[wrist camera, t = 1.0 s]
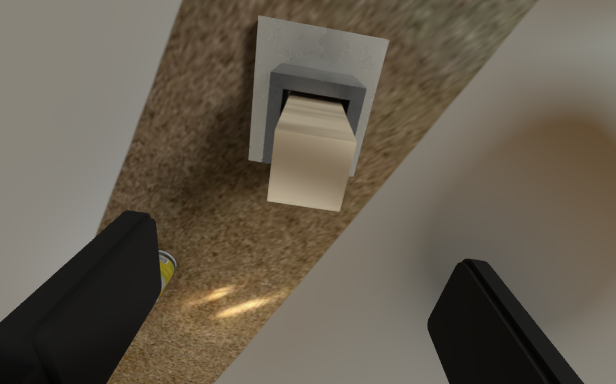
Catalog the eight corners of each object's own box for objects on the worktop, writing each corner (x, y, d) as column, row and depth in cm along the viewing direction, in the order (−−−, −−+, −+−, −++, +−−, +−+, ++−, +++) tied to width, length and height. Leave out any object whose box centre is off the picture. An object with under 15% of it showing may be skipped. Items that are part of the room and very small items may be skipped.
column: (293, 81, 28) (273, 126, 14) (336, 88, 28) (359, 140, 14) (288, 124, 30) (265, 202, 16) (328, 130, 30) (341, 213, 16)
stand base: (262, 16, 27) (237, 7, 19) (384, 39, 28) (416, 40, 19) (251, 153, 34) (230, 194, 25) (351, 169, 35) (364, 214, 26)
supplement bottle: (153, 275, 44) (121, 324, 36) (138, 252, 41) (100, 298, 34) (183, 270, 43) (155, 319, 36) (168, 246, 41) (136, 292, 33)
